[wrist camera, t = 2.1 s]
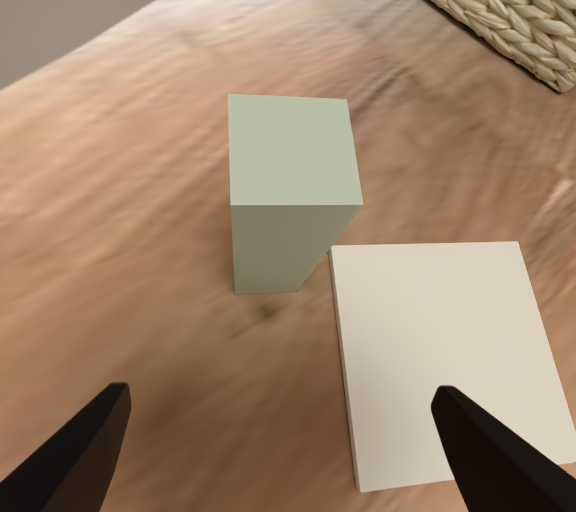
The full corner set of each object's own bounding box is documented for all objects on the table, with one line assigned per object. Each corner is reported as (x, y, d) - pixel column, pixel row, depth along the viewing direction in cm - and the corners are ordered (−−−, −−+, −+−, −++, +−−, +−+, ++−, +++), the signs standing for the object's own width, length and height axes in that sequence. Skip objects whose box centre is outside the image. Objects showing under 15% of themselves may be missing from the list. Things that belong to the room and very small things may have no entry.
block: (235, 294, 24) (230, 205, 11) (233, 236, 25) (227, 93, 12) (296, 291, 25) (363, 205, 12) (292, 235, 26) (346, 99, 13)
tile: (356, 488, 21) (360, 492, 20) (328, 249, 26) (331, 245, 25) (573, 458, 24) (584, 460, 23) (510, 244, 29) (517, 241, 28)
